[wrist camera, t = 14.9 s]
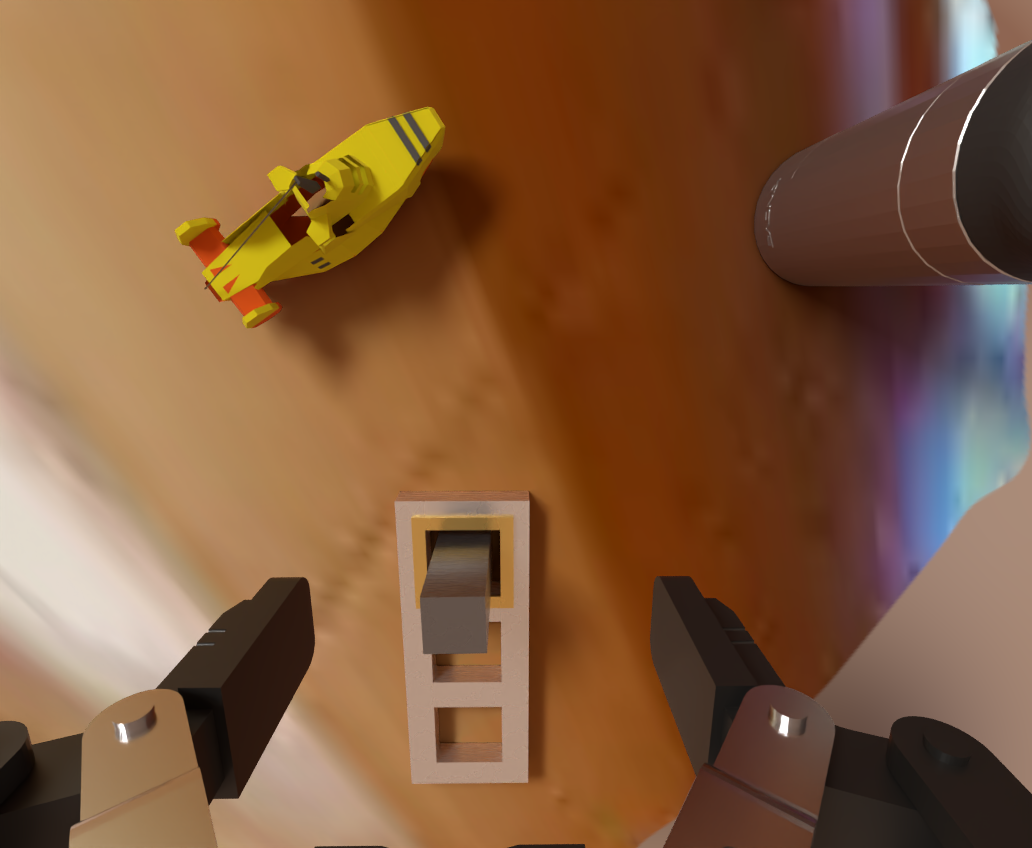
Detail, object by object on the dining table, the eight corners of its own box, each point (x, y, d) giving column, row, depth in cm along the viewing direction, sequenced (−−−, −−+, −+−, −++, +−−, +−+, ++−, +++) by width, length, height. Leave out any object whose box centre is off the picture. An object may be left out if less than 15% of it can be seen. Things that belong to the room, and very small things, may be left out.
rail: (528, 490, 42) (529, 502, 39) (527, 762, 48) (528, 785, 46) (400, 491, 41) (393, 503, 39) (415, 763, 48) (411, 786, 46)
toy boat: (209, 252, 37) (103, 239, 27) (420, 93, 35) (385, 18, 25) (269, 330, 38) (188, 344, 29) (475, 182, 36) (462, 143, 26)
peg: (491, 526, 42) (485, 596, 33) (492, 571, 43) (486, 653, 34) (440, 526, 42) (419, 597, 33) (443, 572, 43) (423, 654, 34)
